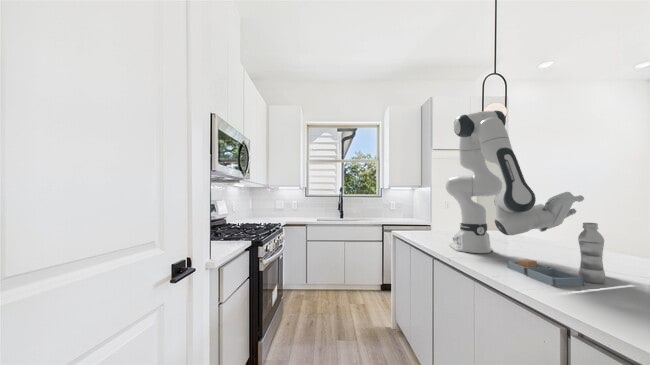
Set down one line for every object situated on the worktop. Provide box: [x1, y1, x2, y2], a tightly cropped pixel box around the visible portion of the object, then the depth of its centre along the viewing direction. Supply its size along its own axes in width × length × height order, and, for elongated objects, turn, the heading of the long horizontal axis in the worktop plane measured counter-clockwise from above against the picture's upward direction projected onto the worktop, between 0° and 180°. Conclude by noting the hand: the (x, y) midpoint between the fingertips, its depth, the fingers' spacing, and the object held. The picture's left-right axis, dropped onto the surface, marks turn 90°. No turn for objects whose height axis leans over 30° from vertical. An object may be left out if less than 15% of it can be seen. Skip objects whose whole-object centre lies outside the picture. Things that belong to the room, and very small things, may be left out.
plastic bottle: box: [577, 222, 607, 285], centre depth 93 cm, size 6×7×20 cm
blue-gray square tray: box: [506, 260, 550, 276], centre depth 105 cm, size 9×9×3 cm
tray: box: [526, 267, 585, 288], centre depth 94 cm, size 11×10×3 cm
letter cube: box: [517, 258, 538, 267], centre depth 105 cm, size 4×4×4 cm
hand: (578, 204), depth 108 cm, fingers open, 8 cm apart
